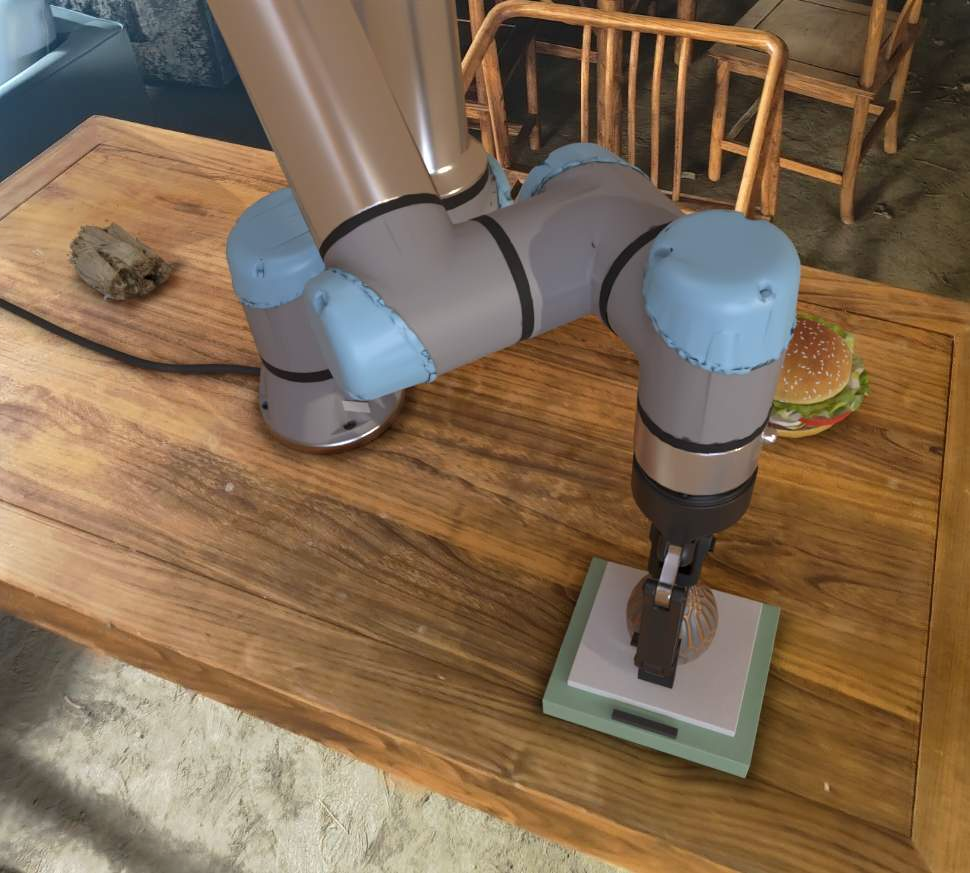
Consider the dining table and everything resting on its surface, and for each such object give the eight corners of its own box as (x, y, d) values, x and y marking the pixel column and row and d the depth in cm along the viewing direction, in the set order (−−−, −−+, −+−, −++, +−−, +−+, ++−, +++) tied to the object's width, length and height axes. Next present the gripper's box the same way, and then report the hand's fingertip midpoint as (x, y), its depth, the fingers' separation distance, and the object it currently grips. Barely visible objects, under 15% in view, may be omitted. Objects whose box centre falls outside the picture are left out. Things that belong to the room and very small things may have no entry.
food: (854, 463, 88) (874, 407, 82) (705, 431, 92) (715, 375, 86) (868, 365, 96) (888, 307, 90) (731, 339, 100) (741, 282, 94)
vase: (710, 685, 71) (724, 629, 64) (619, 672, 72) (623, 615, 66) (714, 607, 75) (727, 546, 69) (629, 595, 76) (633, 535, 70)
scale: (542, 713, 74) (541, 695, 72) (592, 571, 82) (593, 550, 80) (745, 778, 70) (751, 761, 67) (776, 621, 78) (783, 601, 75)
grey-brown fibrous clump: (190, 278, 114) (176, 243, 110) (123, 320, 110) (106, 284, 106) (126, 234, 121) (111, 199, 117) (61, 271, 117) (43, 237, 113)
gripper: (725, 605, 49) (686, 769, 67) (785, 354, 61) (739, 550, 78) (589, 568, 51) (585, 736, 69) (672, 332, 63) (651, 527, 80)
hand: (667, 637), depth 74 cm, fingers closed on vase, 7 cm apart
